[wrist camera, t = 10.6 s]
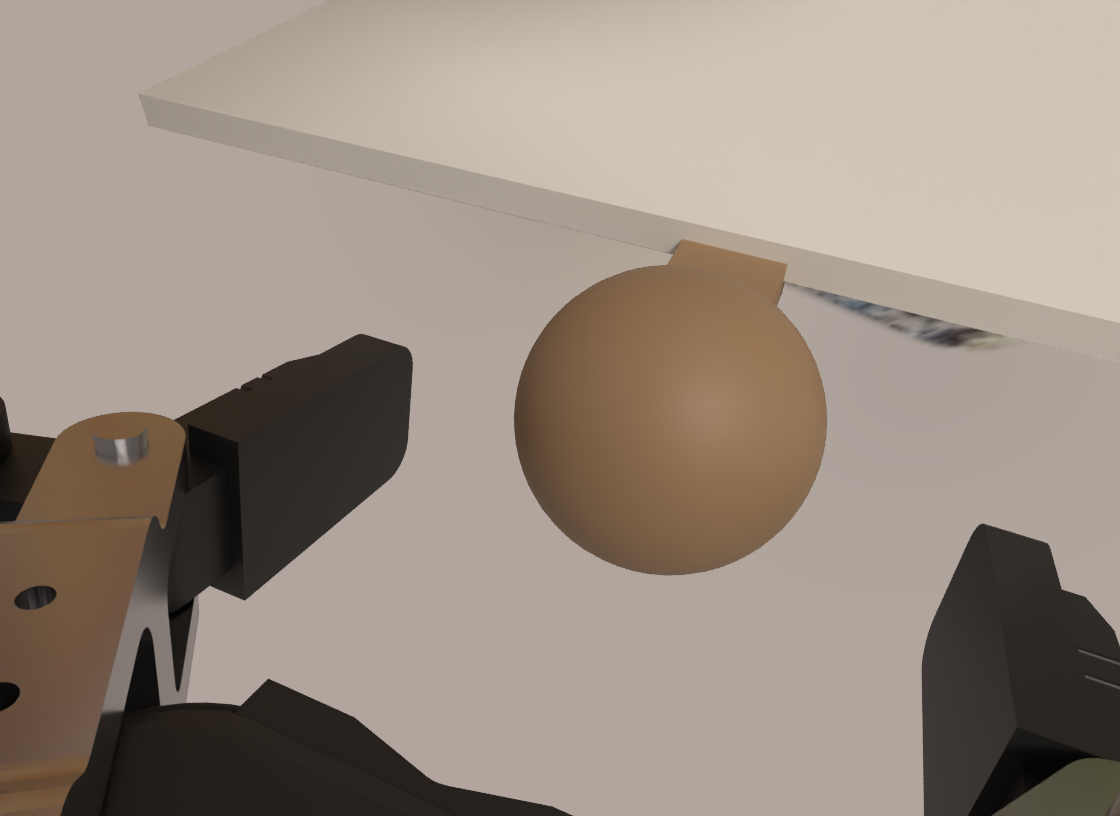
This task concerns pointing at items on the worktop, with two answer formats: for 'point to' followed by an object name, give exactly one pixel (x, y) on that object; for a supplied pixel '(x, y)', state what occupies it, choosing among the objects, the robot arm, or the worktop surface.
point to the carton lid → (715, 206)
